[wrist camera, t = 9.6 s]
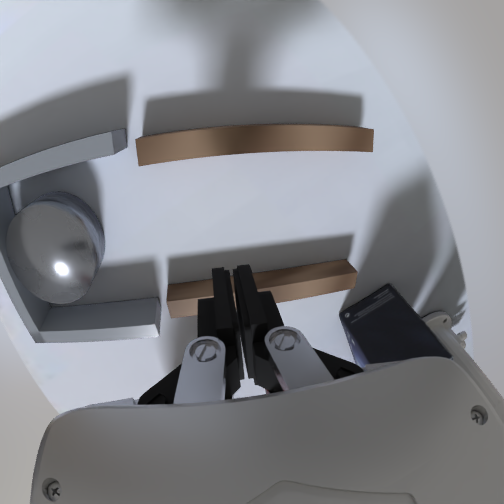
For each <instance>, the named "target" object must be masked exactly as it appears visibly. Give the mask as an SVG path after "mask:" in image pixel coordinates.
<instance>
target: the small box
mask: <svg viewBox="0 0 504 504" xmlns="http://www.w3.org/2000/svg"><path fill="white" fill-rule="evenodd" d="M339 317H340V320H341V323H342V326H343V328H344V331H345V334H346V337H347V340H348V343H349V346H350V349H351V351H352V354H353V357H354V360H355V363H356V365H358V366H360V367H361V368H362V367H365V364H376V363H385V362H394V361H402V360H408V359H412V358H419V357H435V356H436V357H444V358H448V359H451V360H452V361H453V358H454V357H453V355H452V354H451V353H450V352H449V350H448V349H447V348H446V346H445V345H444V344H443V343H442V342H441V341H440V339H439V338H438V337H437V336H436V334H435V333H434V332H433V331H432V330H431V329H430V327H429V326H428V325H427V324H426V323H425V322H424V321H423V320H422V319H421V318H420V317H419V315H418V314H417V313H416V312H415V311H414V309H413V308H412V307H411V306H410V305H409V304H408V303H407V302H406V300H405V299H404V298H403V297H402V296H401V295H400V293H399V292H398V291H397V290H396V289H395V288H394V287H393V286H392V284H391V283H389V284H387V285H386V286H384V287H383V288H381V289H380V290H378V291H377V292H375V293H374V294H372V295H370V296H369V297H367V298H365V299H364V300H362V301H360V302H359V303H357V304H355V305H353V306H352V307H350V308H348V309H347V310H345V311H343V312H342V313H340V314H339Z"/></svg>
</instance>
